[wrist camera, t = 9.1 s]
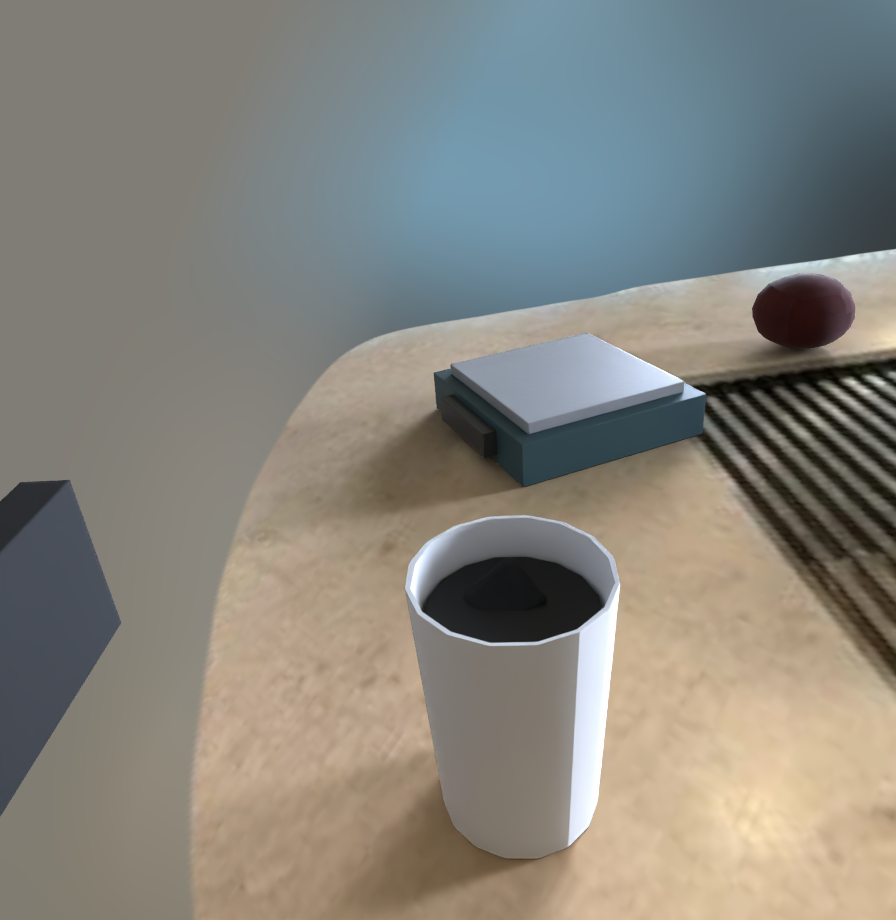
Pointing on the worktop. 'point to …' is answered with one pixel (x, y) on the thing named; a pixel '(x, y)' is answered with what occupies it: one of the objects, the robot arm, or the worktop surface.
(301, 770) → the worktop surface
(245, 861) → the worktop surface
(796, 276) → the plum
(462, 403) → the scale
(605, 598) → the white coffee cup
